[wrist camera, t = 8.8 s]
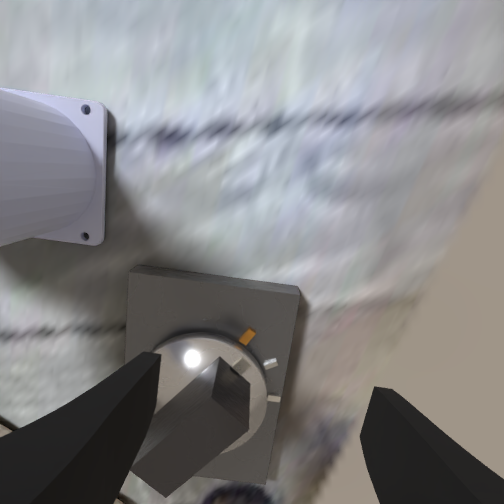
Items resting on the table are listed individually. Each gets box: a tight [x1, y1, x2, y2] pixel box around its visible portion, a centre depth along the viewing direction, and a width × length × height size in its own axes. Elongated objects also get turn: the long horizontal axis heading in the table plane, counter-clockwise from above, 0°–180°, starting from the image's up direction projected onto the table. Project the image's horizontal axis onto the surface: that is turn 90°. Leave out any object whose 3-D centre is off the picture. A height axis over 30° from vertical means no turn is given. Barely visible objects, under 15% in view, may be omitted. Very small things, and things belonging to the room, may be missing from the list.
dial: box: [130, 332, 267, 498], centre depth 18 cm, size 8×8×4 cm
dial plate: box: [124, 265, 300, 485], centre depth 21 cm, size 10×14×2 cm
